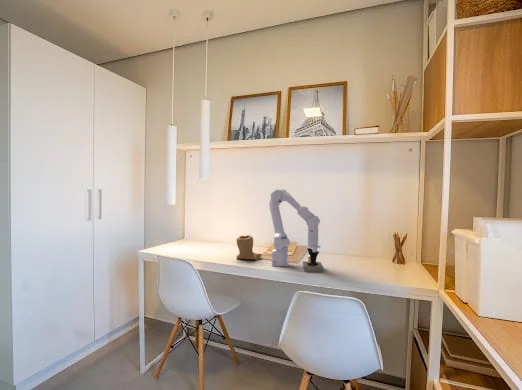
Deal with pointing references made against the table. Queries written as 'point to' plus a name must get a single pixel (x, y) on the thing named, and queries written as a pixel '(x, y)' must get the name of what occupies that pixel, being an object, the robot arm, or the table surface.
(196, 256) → the table surface
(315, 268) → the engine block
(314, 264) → the piston
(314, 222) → the robot arm
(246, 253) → the brown boot
